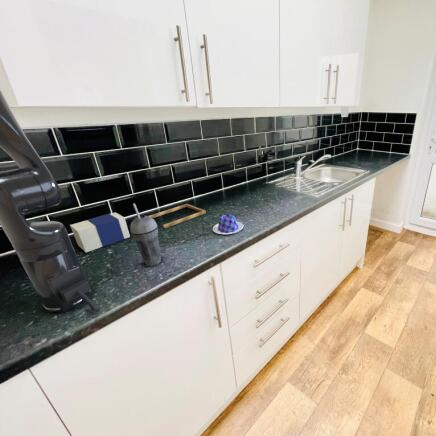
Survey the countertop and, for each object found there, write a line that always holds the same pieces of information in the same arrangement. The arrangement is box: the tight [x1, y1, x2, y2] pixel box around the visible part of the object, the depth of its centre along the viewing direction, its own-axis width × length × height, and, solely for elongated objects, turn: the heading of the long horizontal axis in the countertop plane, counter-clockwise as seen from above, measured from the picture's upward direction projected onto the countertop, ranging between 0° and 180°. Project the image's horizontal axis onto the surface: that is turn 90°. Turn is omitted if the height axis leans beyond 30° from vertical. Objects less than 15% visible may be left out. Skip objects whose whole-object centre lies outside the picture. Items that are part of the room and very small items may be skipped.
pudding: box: [212, 213, 245, 235], centre depth 101 cm, size 12×12×5 cm
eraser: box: [69, 212, 131, 253], centre depth 92 cm, size 14×8×8 cm, turn 143°
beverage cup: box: [130, 203, 162, 267], centre depth 77 cm, size 7×7×20 cm
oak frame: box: [148, 203, 207, 229], centre depth 113 cm, size 20×15×1 cm
